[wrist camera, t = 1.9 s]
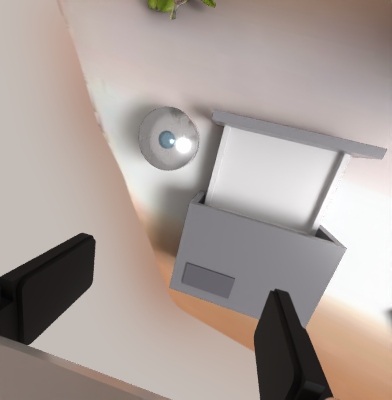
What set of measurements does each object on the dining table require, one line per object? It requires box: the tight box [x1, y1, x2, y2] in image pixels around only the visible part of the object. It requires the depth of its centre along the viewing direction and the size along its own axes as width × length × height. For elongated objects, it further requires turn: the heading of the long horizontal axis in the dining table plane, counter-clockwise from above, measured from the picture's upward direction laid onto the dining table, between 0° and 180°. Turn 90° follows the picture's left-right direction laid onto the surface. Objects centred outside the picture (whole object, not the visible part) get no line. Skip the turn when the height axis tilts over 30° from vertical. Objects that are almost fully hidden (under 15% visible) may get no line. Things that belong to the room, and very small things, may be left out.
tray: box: [204, 110, 387, 237], centre depth 24 cm, size 12×17×5 cm
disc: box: [139, 107, 199, 171], centre depth 24 cm, size 7×7×2 cm
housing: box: [169, 191, 347, 328], centre depth 26 cm, size 12×17×7 cm
